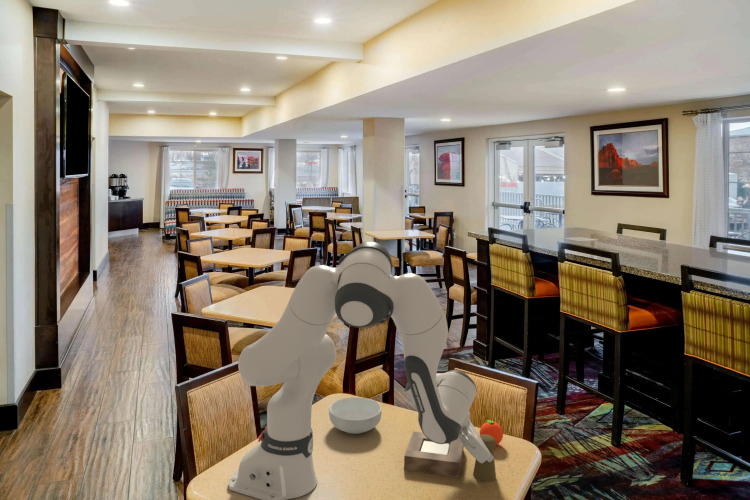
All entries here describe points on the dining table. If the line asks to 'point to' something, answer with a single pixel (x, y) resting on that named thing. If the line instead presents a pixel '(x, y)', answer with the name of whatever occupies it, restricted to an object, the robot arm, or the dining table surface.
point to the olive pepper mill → (486, 462)
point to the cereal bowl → (355, 414)
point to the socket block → (433, 457)
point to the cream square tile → (435, 447)
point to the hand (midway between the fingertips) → (487, 453)
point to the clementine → (492, 430)
